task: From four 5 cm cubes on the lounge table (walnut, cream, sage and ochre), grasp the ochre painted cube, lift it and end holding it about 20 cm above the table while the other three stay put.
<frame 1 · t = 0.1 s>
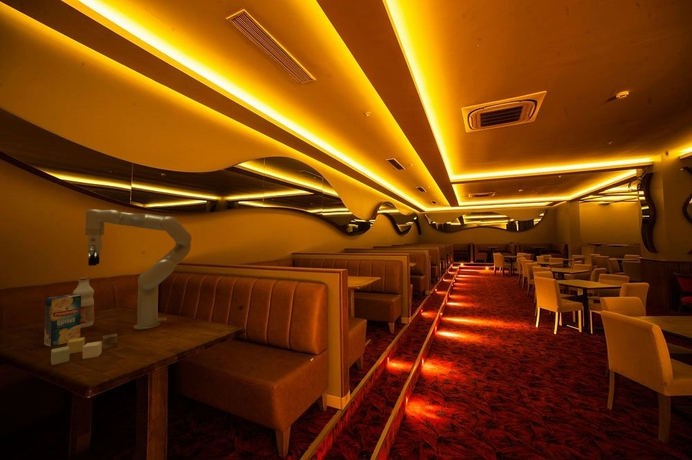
hand: (93, 264, 150), 37 cm above the table, tool pointing down, fingers open, 9 cm apart
blue cardboard box: (62, 342, 138), on the table
sage cube: (60, 361, 116), on the table
ochre cube: (76, 351, 127), on the table
cream cube: (92, 355, 122), on the table
fruit juice: (82, 326, 163), on the table
walnut cube: (109, 346, 132), on the table
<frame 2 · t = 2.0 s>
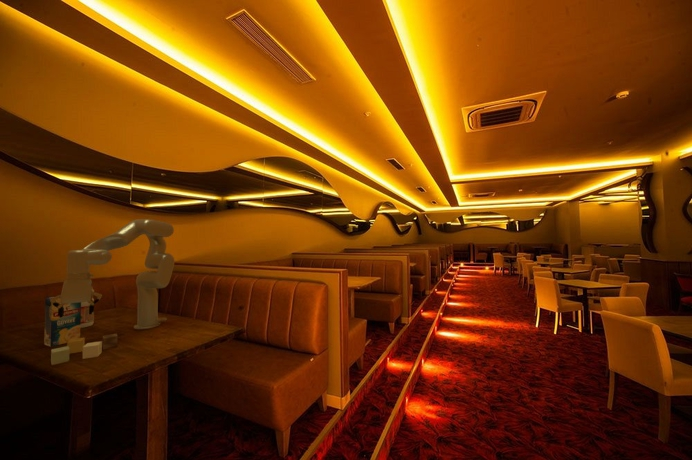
hand: (76, 315, 128), 16 cm above the table, tool pointing down, fingers open, 9 cm apart
nothing on the table moved.
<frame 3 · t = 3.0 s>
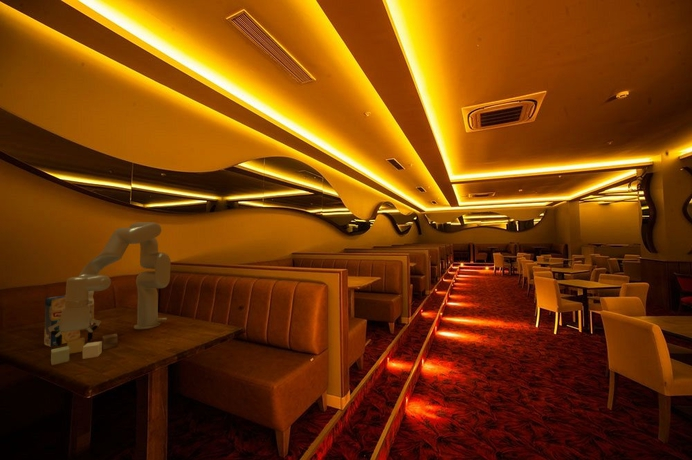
hand: (74, 342, 127), 4 cm above the table, tool pointing down, fingers open, 9 cm apart
nothing on the table moved.
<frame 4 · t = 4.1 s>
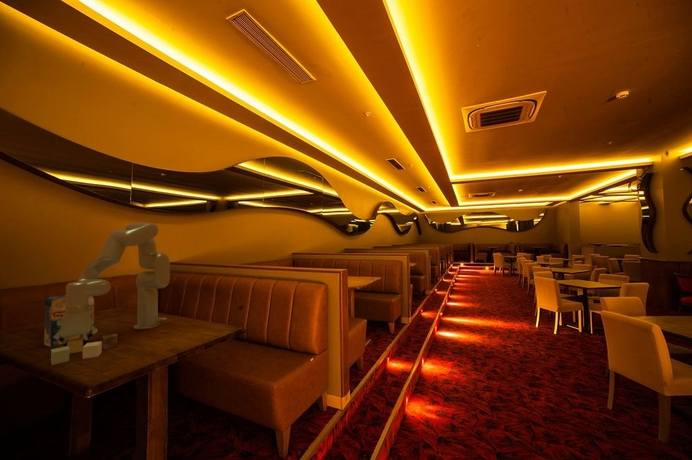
hand: (76, 349, 127), 0 cm above the table, tool pointing down, fingers closed on ochre cube, 5 cm apart
ochre cube: (76, 350, 127), on the table, touching gripper
everything else where it was.
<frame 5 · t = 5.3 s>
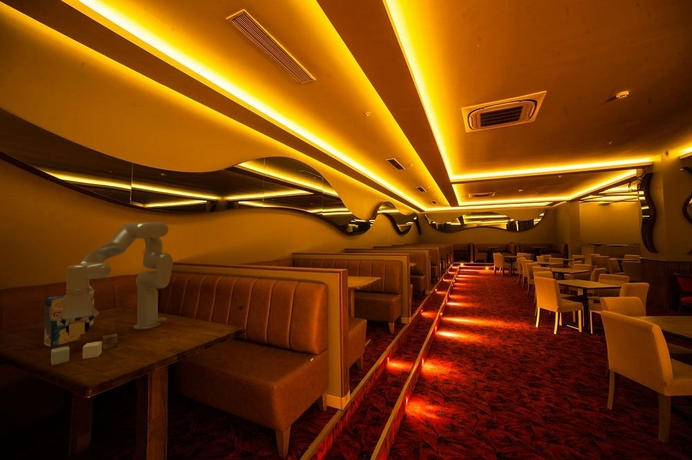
hand: (78, 331, 128), 8 cm above the table, tool pointing down, fingers closed on ochre cube, 5 cm apart
ochre cube: (78, 333, 128), point 8 cm above the table, touching gripper
everything else where it was.
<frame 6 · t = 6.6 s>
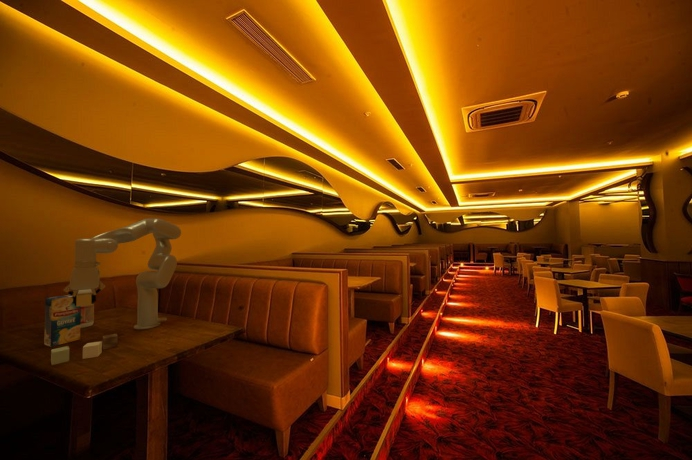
hand: (84, 303, 132), 20 cm above the table, tool pointing down, fingers closed on ochre cube, 5 cm apart
ochre cube: (84, 304, 132), point 20 cm above the table, touching gripper
everything else where it was.
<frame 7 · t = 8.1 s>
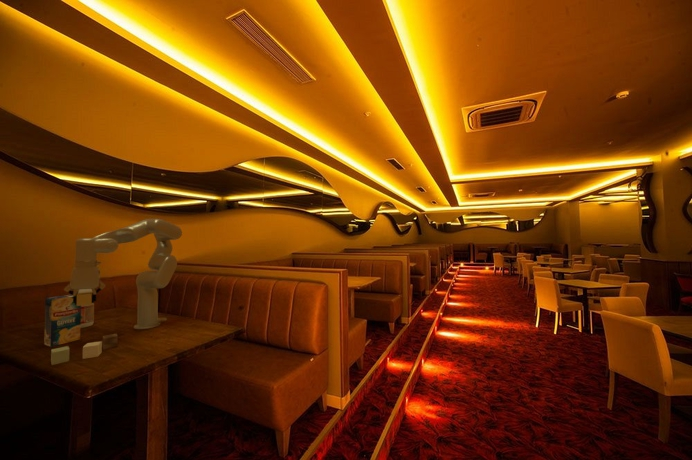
hand: (85, 303, 132), 20 cm above the table, tool pointing down, fingers closed on ochre cube, 5 cm apart
ochre cube: (85, 304, 132), point 20 cm above the table, touching gripper
everything else where it was.
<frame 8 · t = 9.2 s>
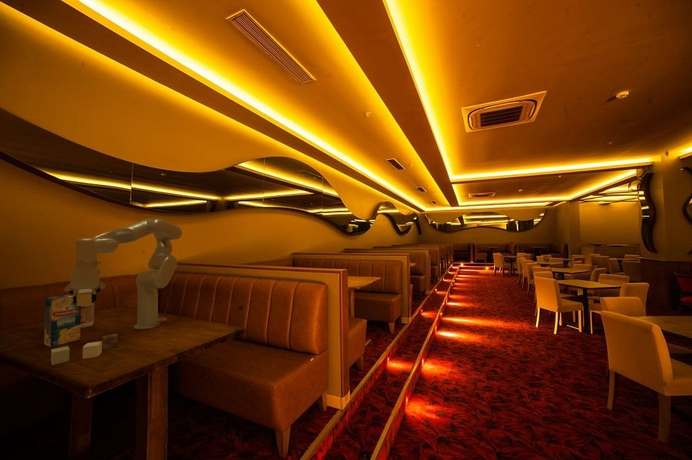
hand: (85, 303, 132), 20 cm above the table, tool pointing down, fingers closed on ochre cube, 5 cm apart
ochre cube: (85, 304, 132), point 20 cm above the table, touching gripper
everything else where it was.
at the end: the gripper is holding ochre cube; ochre cube point 19.8 cm above the table; walnut cube moved 0.1 cm from its start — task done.
